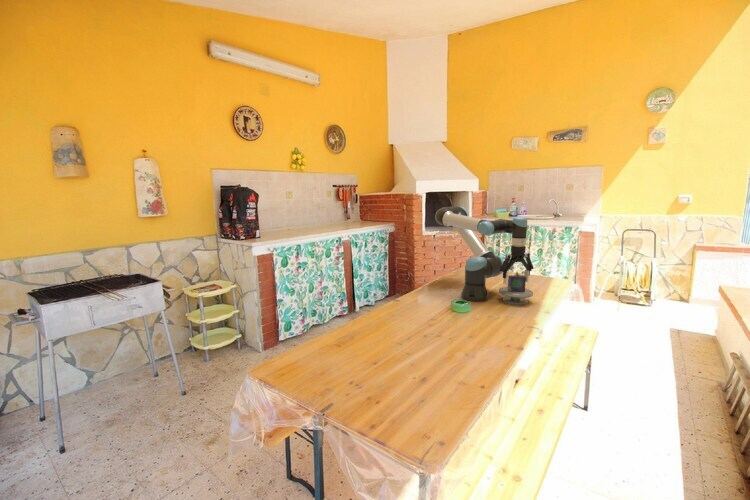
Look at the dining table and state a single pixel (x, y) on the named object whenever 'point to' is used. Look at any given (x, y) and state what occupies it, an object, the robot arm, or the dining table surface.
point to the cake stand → (515, 296)
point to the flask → (516, 283)
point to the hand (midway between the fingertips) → (515, 282)
